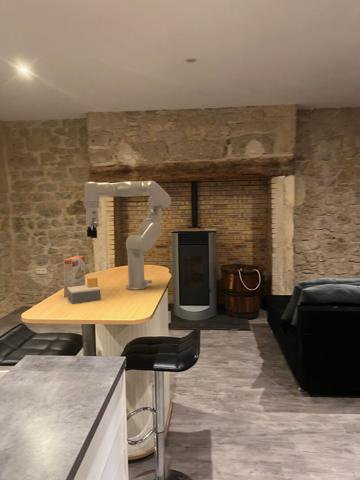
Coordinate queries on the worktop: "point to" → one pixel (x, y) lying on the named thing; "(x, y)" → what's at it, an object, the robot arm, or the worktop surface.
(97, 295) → the tub
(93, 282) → the lid
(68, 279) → the cracker box
